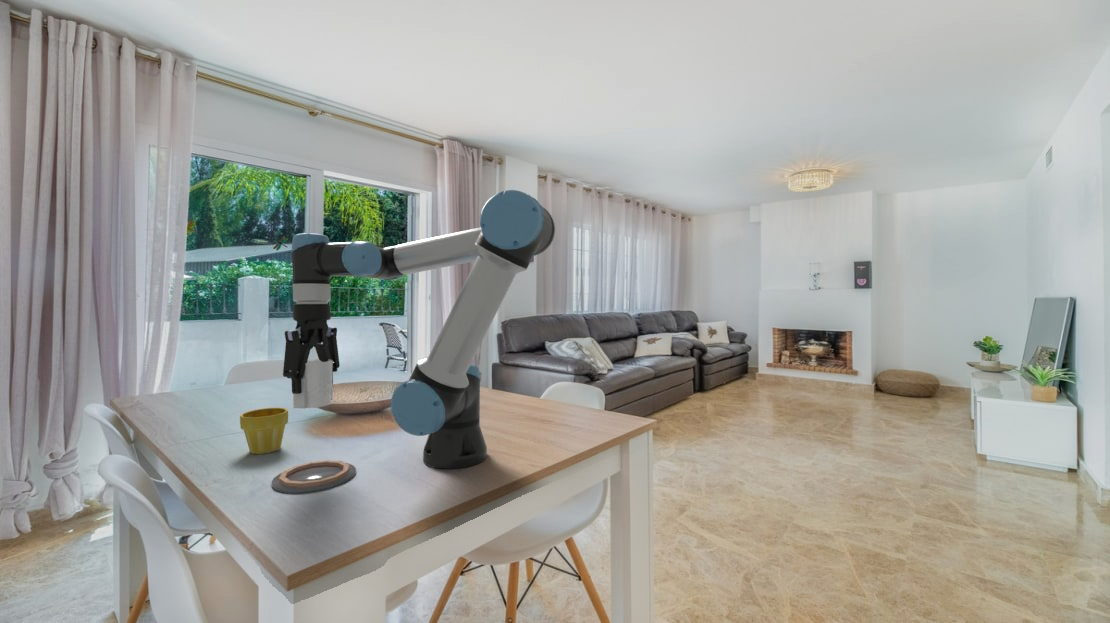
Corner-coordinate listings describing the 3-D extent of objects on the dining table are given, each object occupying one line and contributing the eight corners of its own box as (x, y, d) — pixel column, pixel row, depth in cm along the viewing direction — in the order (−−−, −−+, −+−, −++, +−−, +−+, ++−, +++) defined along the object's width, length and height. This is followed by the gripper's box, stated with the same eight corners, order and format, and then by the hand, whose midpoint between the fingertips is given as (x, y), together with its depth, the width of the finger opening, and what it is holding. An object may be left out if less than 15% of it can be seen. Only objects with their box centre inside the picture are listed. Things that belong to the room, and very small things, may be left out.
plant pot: (235, 459, 109) (235, 418, 108) (245, 446, 118) (245, 409, 118) (285, 453, 113) (285, 414, 113) (291, 441, 122) (290, 405, 122)
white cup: (316, 409, 98) (315, 363, 98) (285, 408, 100) (284, 363, 100) (341, 402, 106) (340, 359, 105) (312, 400, 107) (311, 358, 107)
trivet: (370, 466, 104) (370, 460, 104) (324, 496, 88) (324, 488, 88) (308, 462, 107) (308, 456, 107) (252, 490, 91) (252, 483, 91)
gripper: (328, 303, 113) (330, 394, 113) (260, 303, 93) (262, 414, 93) (355, 303, 111) (356, 395, 112) (291, 303, 91) (293, 415, 92)
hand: (313, 403), depth 103 cm, fingers closed on white cup, 7 cm apart
